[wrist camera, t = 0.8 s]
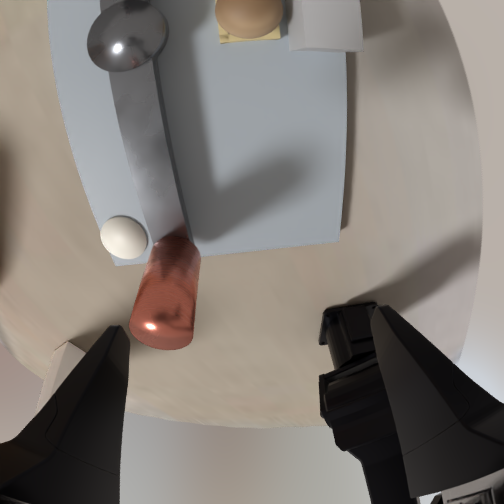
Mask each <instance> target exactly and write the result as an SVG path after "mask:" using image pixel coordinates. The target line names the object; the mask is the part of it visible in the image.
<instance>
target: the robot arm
mask: <svg viewBox="0 0 504 504" xmlns="http://www.w3.org/2000/svg"><path fill="white" fill-rule="evenodd" d="M327 344H328V346H329V350H330V354H331V358H332V361H333V365H334V369H335V370H334V371H331V372H329V373H326V374H322V375H319V395H320V415H321V417H322V418H324V419H325V421H326V423H327V425H328V426H329V427H330V428H332V429H333V434H334V438H335V443H336V445H337V446H338V447H339V448H340V449H341V450H342V451H348V452H349V453H350V454H352V455H353V456H354V457H355V458H357V459H358V460H359V461H360V462H361V464H362V467H363V471H364V475H365V479H366V483H367V487H368V491H369V495H370V499H371V504H420V499H419V497H420V496H424V495H428V494H432V493H436V492H440V491H441V493H440V494H438V495H436V496H435V497H434V499H433V501H432V502H431V504H504V403H502V402H499V401H498V400H497V399H495V398H494V397H493V396H492V395H490V394H489V393H488V392H487V391H485V390H484V389H483V388H482V387H480V386H479V385H478V384H476V383H475V382H474V381H473V380H472V379H470V378H469V377H468V376H467V375H466V374H465V373H464V372H462V371H461V370H460V369H459V368H458V367H457V366H456V365H455V364H453V362H452V361H451V360H450V359H448V358H447V357H446V356H445V355H444V354H443V353H442V352H441V351H440V350H439V349H438V348H436V347H435V346H434V345H433V344H432V343H431V342H430V341H429V340H428V339H426V338H425V337H424V336H423V335H422V334H421V333H420V332H419V331H417V330H416V329H415V328H414V327H413V326H412V325H411V324H410V323H408V322H407V321H406V320H405V319H404V318H403V317H401V316H400V315H399V314H398V313H397V312H396V311H395V310H393V309H392V308H391V307H390V306H389V305H380V306H378V305H377V303H376V302H370V303H365V304H359V305H353V306H347V307H341V308H335V309H329V310H325V311H324V312H323V317H322V323H321V329H320V335H319V345H327ZM129 353H130V340H129V338H128V336H127V334H126V333H125V331H124V329H123V328H122V326H120V325H111V326H109V327H108V328H107V329H106V331H105V332H104V333H103V334H102V335H101V336H100V337H99V339H98V340H97V341H96V342H95V343H94V345H93V346H92V347H91V348H90V349H89V350H88V352H87V353H86V354H85V355H84V356H83V358H82V359H81V360H80V361H79V363H78V364H77V365H76V366H75V367H74V369H73V370H72V371H71V372H70V374H69V375H68V376H67V377H66V379H65V380H64V381H63V382H62V384H61V385H60V386H59V387H58V389H57V390H56V391H55V393H54V394H53V395H52V396H51V398H50V399H49V400H48V401H47V403H46V404H45V405H44V406H43V408H42V409H41V410H40V411H39V412H38V413H37V415H36V416H35V417H34V418H33V419H32V420H31V421H30V422H29V423H28V424H27V426H26V427H25V428H24V429H23V430H22V431H21V432H20V433H19V434H18V435H17V436H16V437H15V438H13V439H12V440H10V441H7V442H4V443H0V504H119V502H120V501H119V499H120V460H121V444H122V432H123V421H124V411H125V403H126V395H127V387H128V376H129Z"/></svg>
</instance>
